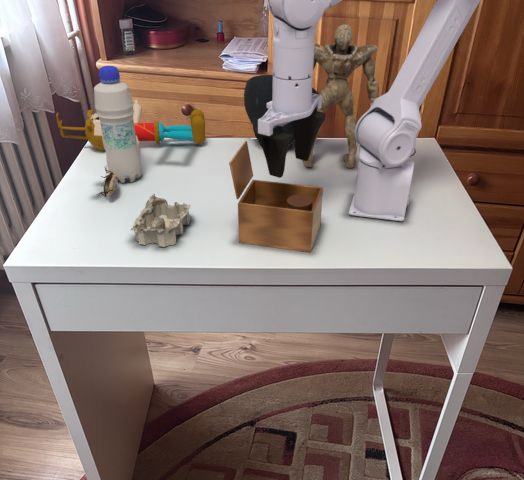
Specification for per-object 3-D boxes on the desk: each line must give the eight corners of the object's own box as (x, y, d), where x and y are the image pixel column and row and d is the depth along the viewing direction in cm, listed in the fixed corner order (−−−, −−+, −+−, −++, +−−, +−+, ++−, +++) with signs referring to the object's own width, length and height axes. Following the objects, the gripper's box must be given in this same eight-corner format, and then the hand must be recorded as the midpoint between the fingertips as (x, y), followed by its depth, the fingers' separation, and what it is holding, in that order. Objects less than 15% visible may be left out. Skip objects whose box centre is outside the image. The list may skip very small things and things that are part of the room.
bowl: (278, 107, 103) (293, 59, 103) (217, 117, 114) (231, 74, 115) (327, 154, 115) (341, 111, 116) (268, 159, 127) (280, 119, 127)
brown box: (238, 242, 89) (237, 203, 84) (253, 217, 95) (252, 179, 90) (310, 252, 86) (313, 212, 82) (320, 225, 93) (323, 187, 88)
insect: (101, 170, 95) (118, 176, 95) (106, 159, 102) (122, 164, 103) (93, 202, 97) (110, 208, 98) (99, 189, 105) (115, 194, 106)
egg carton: (156, 213, 96) (153, 191, 93) (196, 219, 94) (194, 197, 92) (128, 243, 88) (124, 220, 86) (171, 250, 87) (168, 227, 84)
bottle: (147, 171, 109) (132, 61, 96) (138, 186, 104) (120, 72, 91) (114, 170, 109) (94, 60, 96) (104, 184, 104) (81, 70, 91)
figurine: (367, 153, 116) (389, 17, 99) (373, 169, 110) (398, 29, 93) (284, 151, 115) (292, 15, 98) (286, 168, 109) (295, 26, 92)
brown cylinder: (312, 229, 91) (314, 196, 87) (307, 242, 88) (309, 207, 84) (288, 226, 92) (289, 193, 88) (283, 238, 89) (284, 204, 85)
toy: (209, 140, 107) (48, 138, 102) (208, 179, 113) (57, 179, 109) (201, 84, 123) (61, 81, 118) (201, 121, 129) (68, 119, 125)
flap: (238, 199, 84) (236, 199, 84) (253, 175, 90) (251, 175, 90) (230, 162, 80) (228, 162, 80) (246, 140, 86) (245, 140, 86)
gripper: (296, 58, 84) (292, 146, 93) (239, 82, 75) (241, 176, 84) (336, 66, 81) (329, 156, 90) (282, 91, 72) (280, 188, 81)
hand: (289, 167), depth 87 cm, fingers open, 7 cm apart
